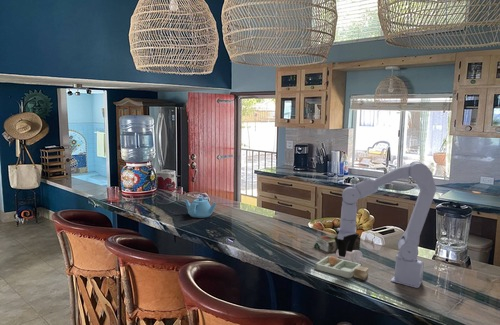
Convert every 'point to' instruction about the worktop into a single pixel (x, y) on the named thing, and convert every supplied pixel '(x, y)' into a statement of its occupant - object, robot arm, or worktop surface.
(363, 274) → the maple block
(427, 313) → the worktop surface
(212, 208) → the teapot
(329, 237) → the juice carton
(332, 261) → the terracotta ball
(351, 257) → the smoothie
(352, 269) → the tray
